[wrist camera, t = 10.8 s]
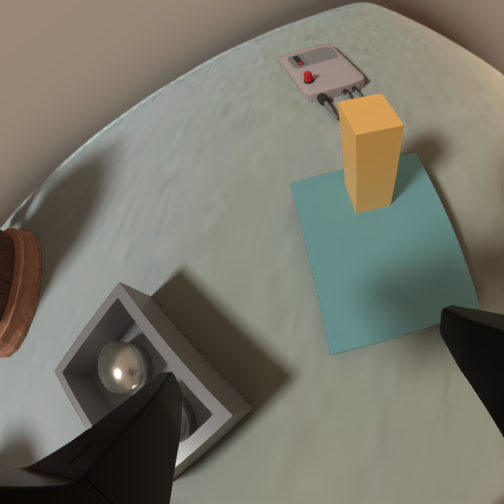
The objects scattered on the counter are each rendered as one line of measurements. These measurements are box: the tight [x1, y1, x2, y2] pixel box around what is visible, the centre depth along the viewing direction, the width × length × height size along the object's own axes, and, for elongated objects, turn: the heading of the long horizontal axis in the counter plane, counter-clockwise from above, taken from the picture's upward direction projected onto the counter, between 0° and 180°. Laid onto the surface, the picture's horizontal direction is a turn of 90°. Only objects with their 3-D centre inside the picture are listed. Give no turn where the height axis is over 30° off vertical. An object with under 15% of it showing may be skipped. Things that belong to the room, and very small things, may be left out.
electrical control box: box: [277, 44, 365, 120], centre depth 27 cm, size 7×16×3 cm, turn 15°
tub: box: [55, 282, 254, 479], centre depth 19 cm, size 12×10×4 cm
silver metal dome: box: [98, 340, 153, 393], centre depth 20 cm, size 4×4×2 cm
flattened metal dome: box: [179, 397, 196, 443], centre depth 18 cm, size 4×4×2 cm
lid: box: [290, 94, 480, 355], centre depth 15 cm, size 12×10×10 cm
